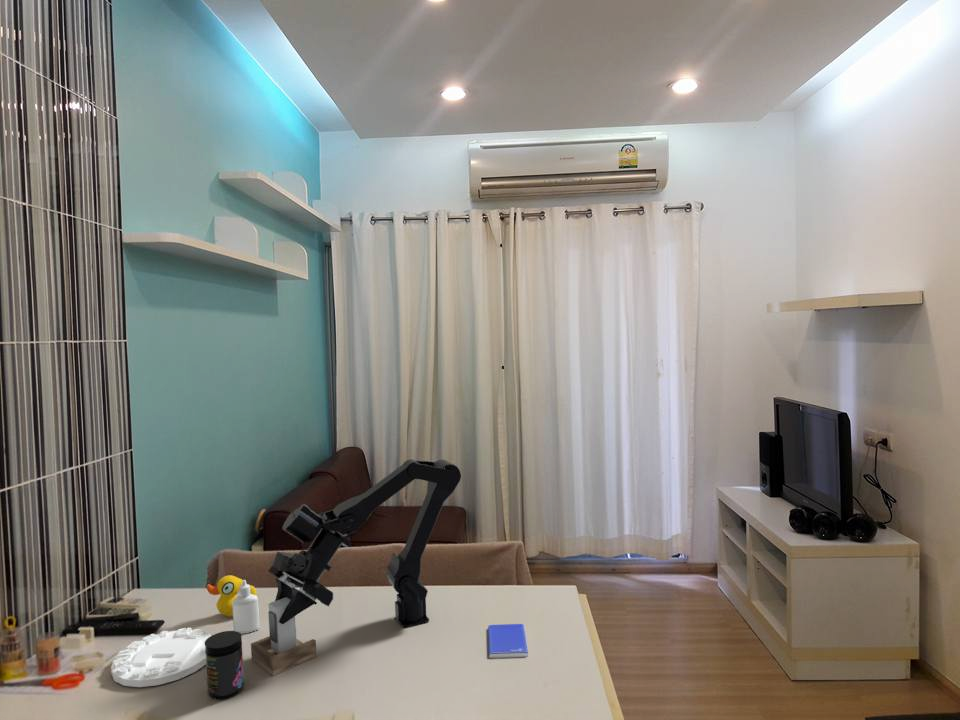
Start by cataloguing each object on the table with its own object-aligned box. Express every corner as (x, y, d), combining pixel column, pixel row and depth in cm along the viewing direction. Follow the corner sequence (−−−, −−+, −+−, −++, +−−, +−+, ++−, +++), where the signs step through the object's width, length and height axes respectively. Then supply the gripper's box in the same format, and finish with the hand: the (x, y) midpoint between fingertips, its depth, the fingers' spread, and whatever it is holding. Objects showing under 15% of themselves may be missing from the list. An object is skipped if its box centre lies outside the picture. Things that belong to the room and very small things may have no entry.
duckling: (208, 625, 150) (206, 584, 150) (208, 615, 155) (206, 576, 155) (258, 614, 155) (256, 575, 154) (256, 605, 160) (254, 567, 159)
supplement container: (231, 702, 119) (228, 649, 118) (199, 699, 120) (196, 646, 119) (251, 682, 125) (248, 631, 125) (220, 679, 127) (217, 629, 126)
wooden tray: (294, 641, 141) (293, 626, 141) (316, 656, 134) (315, 640, 134) (251, 659, 134) (250, 643, 134) (273, 676, 127) (272, 659, 127)
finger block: (288, 641, 137) (285, 597, 136) (296, 647, 134) (294, 601, 134) (269, 649, 134) (266, 604, 133) (277, 655, 131) (274, 609, 131)
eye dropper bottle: (252, 635, 144) (249, 585, 144) (230, 634, 145) (227, 583, 145) (262, 626, 149) (260, 577, 148) (241, 625, 150) (238, 576, 149)
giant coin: (162, 699, 122) (161, 684, 121) (89, 681, 128) (88, 667, 128) (235, 647, 140) (234, 634, 140) (168, 633, 147) (167, 621, 147)
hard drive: (528, 651, 132) (523, 623, 144) (489, 652, 132) (488, 624, 144) (528, 658, 132) (523, 630, 144) (489, 660, 132) (488, 631, 144)
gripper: (274, 527, 142) (229, 590, 135) (318, 546, 129) (270, 617, 122) (307, 551, 148) (265, 613, 141) (352, 571, 135) (308, 641, 128)
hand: (276, 620), depth 133 cm, fingers closed on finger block, 3 cm apart
